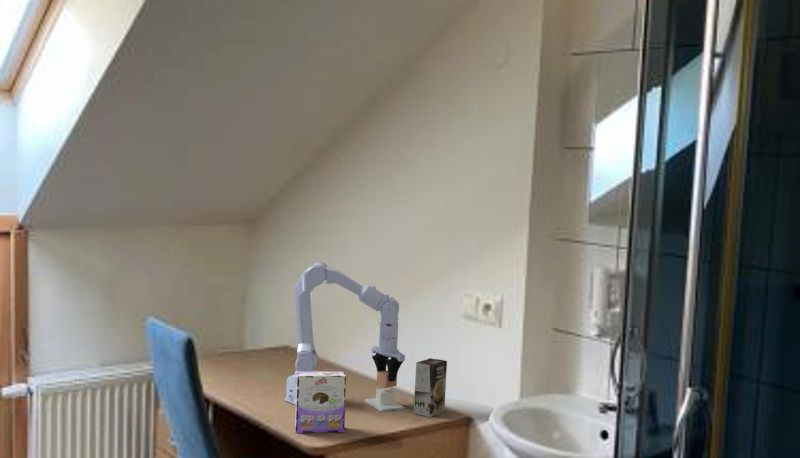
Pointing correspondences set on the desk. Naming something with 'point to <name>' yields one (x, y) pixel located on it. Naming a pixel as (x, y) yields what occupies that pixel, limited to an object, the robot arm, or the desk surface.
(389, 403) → the cream block
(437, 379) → the coffee box
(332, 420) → the candy box
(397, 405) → the hard drive
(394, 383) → the brown block
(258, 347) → the desk surface
